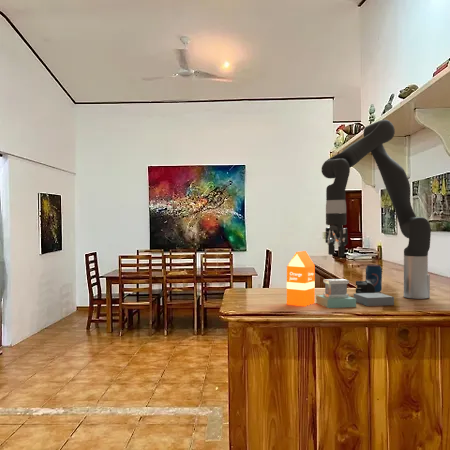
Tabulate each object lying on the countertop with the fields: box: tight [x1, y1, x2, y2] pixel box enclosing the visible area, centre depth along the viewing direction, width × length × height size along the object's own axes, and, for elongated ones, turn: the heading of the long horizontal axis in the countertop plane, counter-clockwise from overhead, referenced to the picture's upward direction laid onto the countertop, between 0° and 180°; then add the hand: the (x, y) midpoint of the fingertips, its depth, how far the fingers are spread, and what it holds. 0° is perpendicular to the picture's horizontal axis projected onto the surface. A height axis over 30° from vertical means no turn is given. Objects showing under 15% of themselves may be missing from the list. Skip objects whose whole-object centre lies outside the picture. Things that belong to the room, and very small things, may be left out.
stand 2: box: [353, 292, 395, 307], centre depth 186 cm, size 11×11×3 cm
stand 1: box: [315, 294, 357, 309], centre depth 182 cm, size 11×11×3 cm
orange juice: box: [286, 250, 316, 307], centre depth 184 cm, size 8×9×20 cm
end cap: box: [355, 279, 375, 293], centre depth 200 cm, size 10×7×7 cm
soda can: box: [365, 263, 383, 293], centre depth 215 cm, size 7×7×12 cm
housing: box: [322, 278, 350, 298], centre depth 182 cm, size 8×5×6 cm, turn 102°
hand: (336, 255), depth 181 cm, fingers open, 8 cm apart
